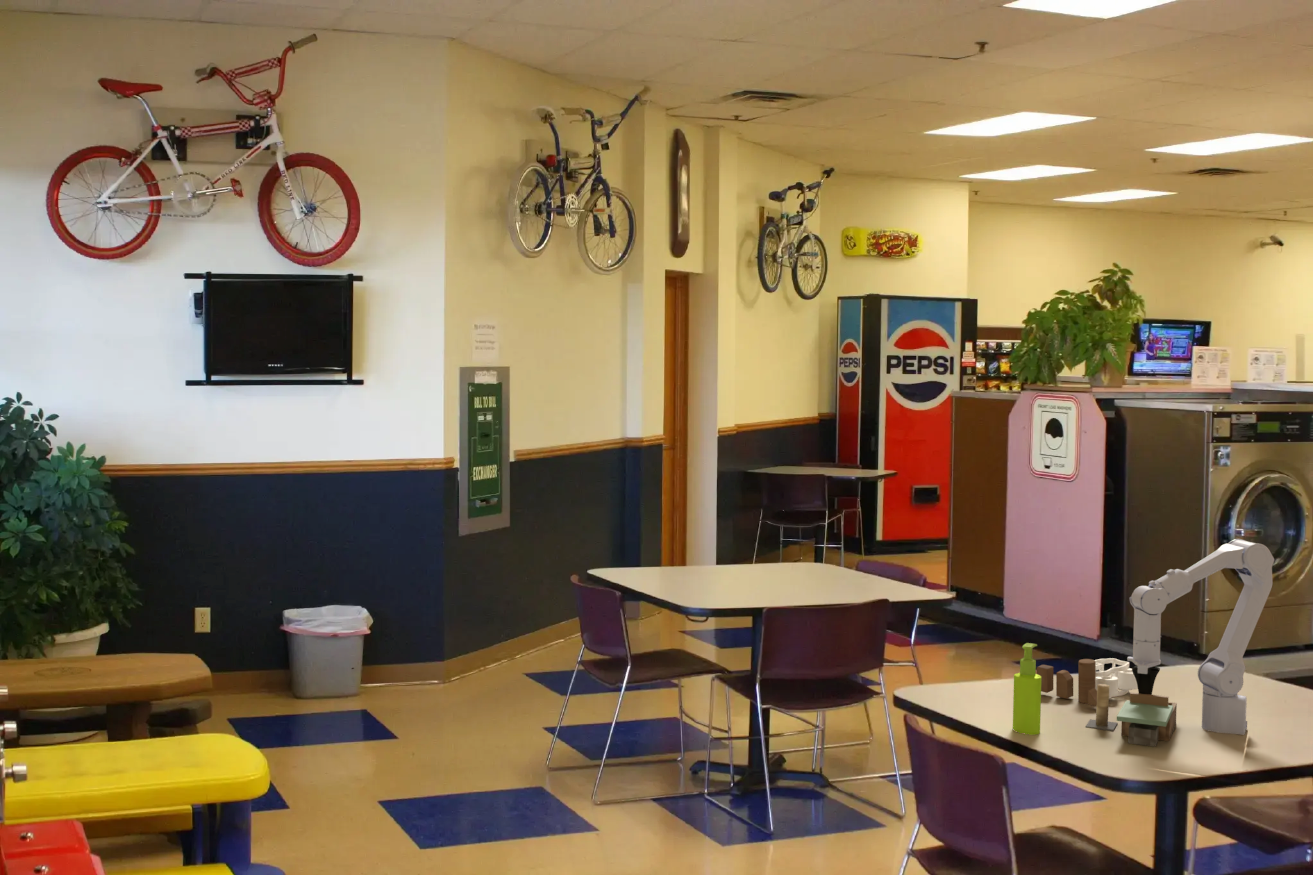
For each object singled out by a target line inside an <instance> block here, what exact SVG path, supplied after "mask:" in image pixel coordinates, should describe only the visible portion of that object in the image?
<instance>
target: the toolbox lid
mask: <svg viewBox="0 0 1313 875" xmlns="http://www.w3.org/2000/svg"><path fill="white" fill-rule="evenodd" d="M1129 700H1130V701H1129ZM1129 700H1125V702H1124V703H1123V705H1122V706H1121V708H1120V710H1119V712H1118V714H1117V715H1116V722H1122V721H1123V722H1131V723H1140V724H1148V725H1157V726H1165V727H1166V725H1167V723H1168V721H1169V718H1170V716H1171V714H1172V711H1173V706H1172V705H1168V702H1169V696H1168V695H1159V694H1158V695H1157V694H1152V695H1150V694H1141V693H1139V692H1132V691H1131V692H1130V693H1129Z"/></svg>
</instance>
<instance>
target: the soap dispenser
mask: <svg viewBox="0 0 1313 875" xmlns="http://www.w3.org/2000/svg"><path fill="white" fill-rule="evenodd" d="M1035 647H1038V644H1037V643H1031V642H1030V643H1029V642H1026V643H1024V644H1023V645H1022V649H1023V652H1024V654H1023V657H1022V658H1020V660H1019V672H1018V673H1017V672H1016V673H1014V674H1013V697H1012V698H1013V703H1012V705H1013V706H1012V709H1013V710H1012V730H1013V729H1014V730H1015V731H1017V732H1019V733H1018V734H1021V733H1025V734H1024V735H1027V734H1029V735H1031V736H1033V735H1039V734H1040V733H1041V715H1042V714H1041V711H1042V710H1041V708H1042V707H1041V705H1042V692H1041V676H1040V675H1038V674H1037V666H1036V665H1037V660H1036V659H1034V657H1033V648H1035ZM1015 731H1014V732H1015ZM1017 732H1016V733H1017ZM1029 735H1028V736H1029Z"/></svg>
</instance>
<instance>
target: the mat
mask: <svg viewBox="0 0 1313 875" xmlns="http://www.w3.org/2000/svg"><path fill="white" fill-rule="evenodd" d="M1117 726H1118V721H1108V725H1107V726H1099V725H1096V719H1089V720H1088V722H1087V724H1086V725H1085V728H1089V729H1095V730H1101V731H1109V732H1114V731H1115V730H1116V728H1117Z"/></svg>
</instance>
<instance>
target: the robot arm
mask: <svg viewBox="0 0 1313 875" xmlns="http://www.w3.org/2000/svg"><path fill="white" fill-rule="evenodd" d="M1274 563H1275V558H1274V556H1273V554H1272V552H1271V551H1270V549H1269V548H1268V547H1267V546H1266V545H1265V544H1262V543H1258V542H1257V543H1256V542H1251V541H1247V540H1245V539H1241V538H1235V539H1233V540H1231V541H1229V542H1228V543H1224V544H1222V545H1220V546H1219V547H1218V548H1217V549H1216V550H1215V551H1213V552H1212V553H1210V554H1208V555H1207V556H1206V557H1203V558H1202V559H1201V560H1199V561H1197V562H1196V563H1194V564H1193V565H1191V566H1190V567H1187V568H1186V569H1184V570H1183V569H1180V568H1176V569H1172V568H1170V569H1168V570H1167V571H1166V574H1164V575H1163V576H1161V577H1160V578H1158V579H1155V580H1150V581H1149V582H1148V585H1140V586H1138V587H1136V588H1135V589H1134V590H1133V592H1132V594H1131V596H1130V597H1129V603H1130V605H1131V606H1132V608H1133V639H1132V640H1133V642H1132V646H1133V647H1132V656H1127V658H1126V659H1127V661H1126V662H1132V663H1133V664H1134V665H1135V666H1133V667H1132V668H1131V669H1132V672H1133V674H1134V676H1135V679H1136V682H1137V686H1138V689H1137V693H1141V694H1150V695H1153V689H1154V685H1155V681H1156V679H1157V676H1158V674H1159V673H1160V670H1161V668H1160V667H1159V665H1161V662H1162V660H1161V629H1162V628H1161V627H1162V624H1161V623H1162V620H1161V619H1162V613H1163V612H1164V611H1165V610H1166V607H1167V605H1169V604H1170V603H1172V602H1173V601H1175V600H1177V599H1179V598H1181V597H1182V596H1184V595H1186V594H1188V593H1190V592H1191V591H1192V589H1193V587H1194V584H1195V583H1196V582H1199V581H1201V580H1202V579H1205V578H1207V577H1210V576H1211V575H1213V574H1215V573H1217V572H1220V571H1221V570H1224V569H1235V571H1236V572H1237V573H1238V574H1239V575H1238V576H1240V578H1241V580H1242V583H1243V587H1242V590H1241V592H1240V594H1239V597H1238V599H1237V601H1236V604H1235V607H1234V609H1233V610H1232V614H1231V616H1230V618H1229V621H1228V623H1227V625H1226V628H1225V630H1224V632H1223V635H1222V637H1221V639H1220V642H1219V645H1218V647H1217V648H1216V649H1214V650H1212V651H1211V652H1209V654H1208V656H1207V658H1206V659H1205V660H1204V661H1203V662H1202V663H1201V664H1200V666H1198V669H1197V678H1198V680H1199V682H1200V683H1201V684H1202V699H1201V700H1202V701H1201V702H1202V704H1201V705H1202V706H1201V707H1202V708H1201V728H1202V729H1203V730H1205V731H1207V732H1214V733H1219V734H1220V733H1222V734H1232V735H1242V736H1243V735H1245V734H1246V730H1248V721H1247V704H1248V703H1247V696H1246V695H1241V694H1238V693H1239V692H1240V691H1241V690H1242V688H1243V687H1244V686H1243V685H1244V673H1245V671H1246V665H1245V662H1244V659H1243V657H1244V655H1245V652H1246V650H1247V647H1248V645H1249V642H1250V641H1251V638H1252V636H1253V633H1254V631H1255V629H1256V626H1257V623H1258V621H1259V619H1260V616H1261V614H1262V612H1263V610H1264V607H1265V604H1266V603H1267V601H1268V598H1269V595H1270V593H1271V590H1272V587H1273V585H1274V584H1273V565H1274Z"/></svg>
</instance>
